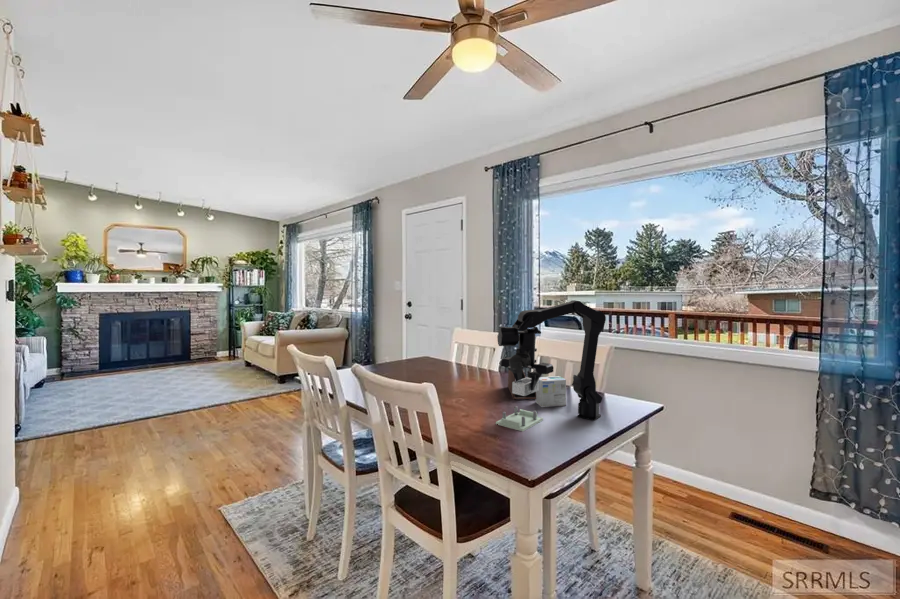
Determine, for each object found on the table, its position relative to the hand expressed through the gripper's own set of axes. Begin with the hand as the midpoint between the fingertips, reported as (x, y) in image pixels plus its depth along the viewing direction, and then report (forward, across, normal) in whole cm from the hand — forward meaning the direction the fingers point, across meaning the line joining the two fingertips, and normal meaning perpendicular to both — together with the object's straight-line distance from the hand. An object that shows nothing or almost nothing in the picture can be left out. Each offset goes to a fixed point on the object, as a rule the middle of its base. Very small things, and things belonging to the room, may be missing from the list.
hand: (525, 388), depth 151 cm
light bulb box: (+12, -2, +24) cm, 26 cm away
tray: (+12, -1, -2) cm, 12 cm away
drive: (+1, 0, 0) cm, 1 cm away
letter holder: (+12, -20, +30) cm, 38 cm away
